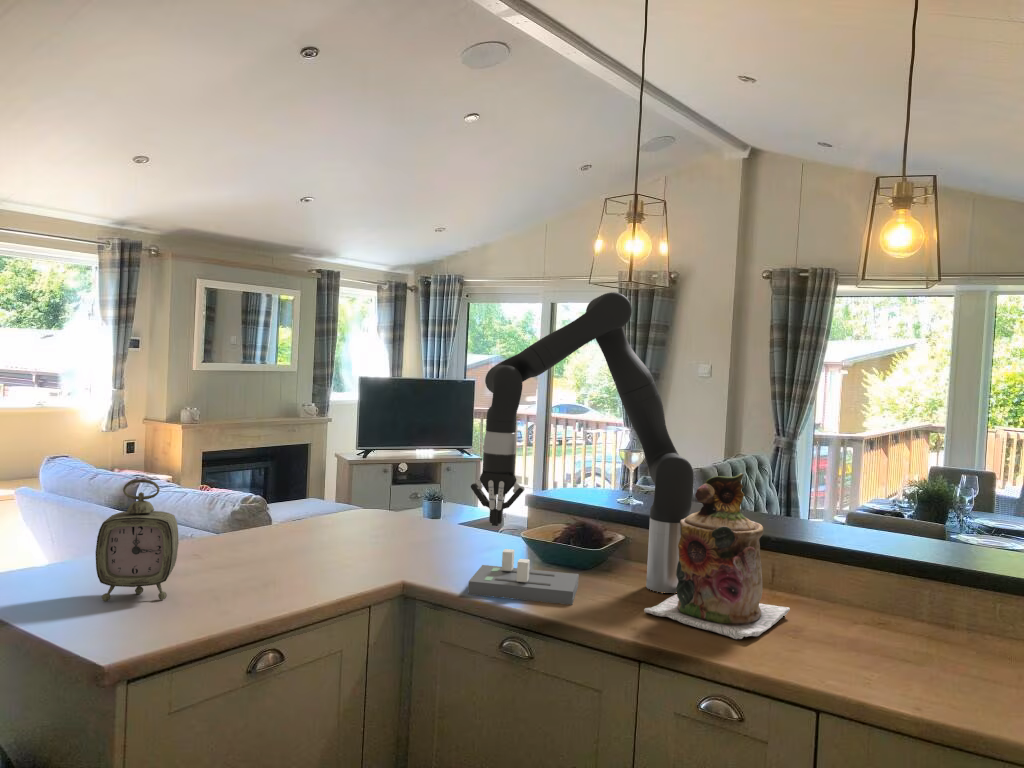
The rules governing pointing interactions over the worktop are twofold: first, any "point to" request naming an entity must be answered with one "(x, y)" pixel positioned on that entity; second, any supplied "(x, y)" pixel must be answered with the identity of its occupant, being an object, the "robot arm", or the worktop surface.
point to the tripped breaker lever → (523, 570)
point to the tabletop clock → (137, 546)
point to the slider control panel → (524, 585)
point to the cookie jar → (720, 567)
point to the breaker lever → (508, 560)
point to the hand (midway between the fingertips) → (495, 525)
